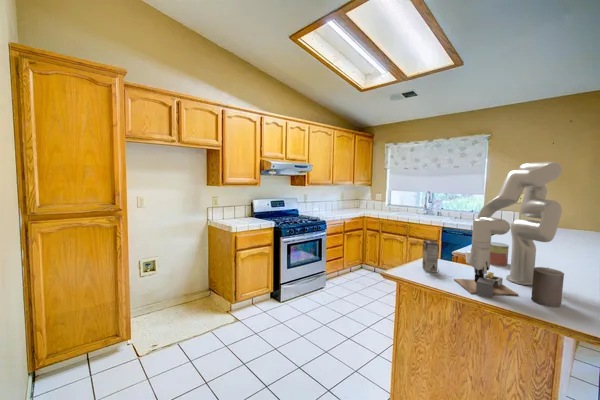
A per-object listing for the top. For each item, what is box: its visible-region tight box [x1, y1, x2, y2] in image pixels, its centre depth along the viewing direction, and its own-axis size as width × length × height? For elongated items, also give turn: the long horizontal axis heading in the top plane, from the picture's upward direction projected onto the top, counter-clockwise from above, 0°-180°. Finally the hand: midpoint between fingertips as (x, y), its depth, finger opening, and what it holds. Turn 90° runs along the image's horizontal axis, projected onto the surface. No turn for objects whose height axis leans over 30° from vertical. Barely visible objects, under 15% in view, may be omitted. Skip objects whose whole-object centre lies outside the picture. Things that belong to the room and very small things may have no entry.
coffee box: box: [422, 239, 440, 273], centre depth 161 cm, size 9×6×16 cm
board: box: [453, 278, 519, 297], centre depth 135 cm, size 20×17×1 cm
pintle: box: [487, 271, 494, 279], centre depth 138 cm, size 2×2×5 cm
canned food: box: [489, 241, 510, 267], centre depth 173 cm, size 11×11×12 cm
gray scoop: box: [484, 273, 503, 288], centre depth 134 cm, size 17×7×3 cm, turn 130°
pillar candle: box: [530, 266, 565, 308], centre depth 119 cm, size 10×10×15 cm
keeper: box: [475, 277, 495, 299], centre depth 127 cm, size 7×6×6 cm
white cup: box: [465, 250, 471, 265], centre depth 174 cm, size 7×7×7 cm
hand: (478, 282), depth 135 cm, fingers closed
